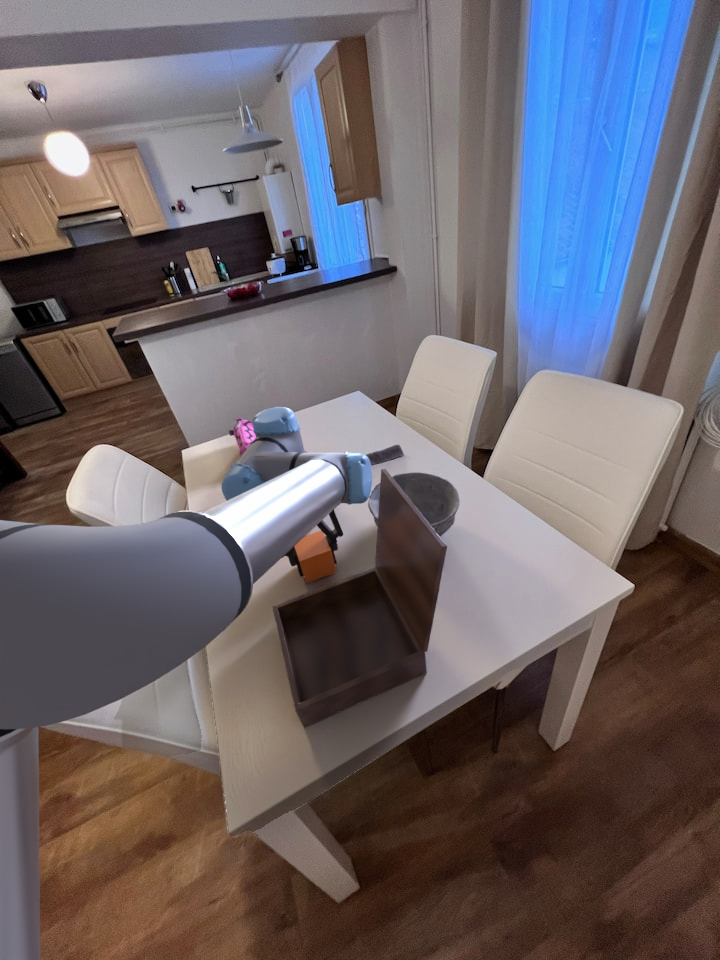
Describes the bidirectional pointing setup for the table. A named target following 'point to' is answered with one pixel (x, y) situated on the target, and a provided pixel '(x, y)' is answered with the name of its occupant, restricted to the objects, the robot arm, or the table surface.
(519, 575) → the table surface
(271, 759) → the table surface
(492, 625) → the table surface
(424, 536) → the lid
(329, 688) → the box
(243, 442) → the pencil case
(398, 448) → the artifact
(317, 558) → the cube
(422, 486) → the bowl
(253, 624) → the table surface
